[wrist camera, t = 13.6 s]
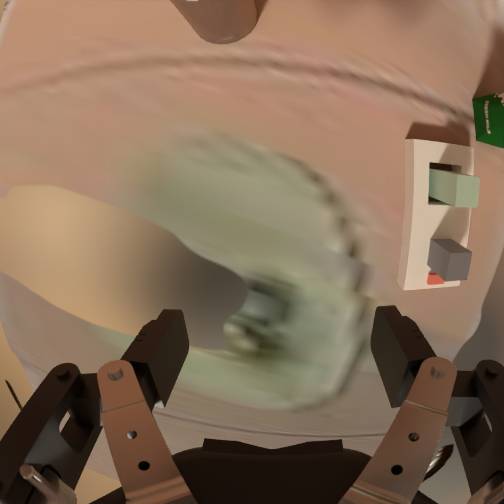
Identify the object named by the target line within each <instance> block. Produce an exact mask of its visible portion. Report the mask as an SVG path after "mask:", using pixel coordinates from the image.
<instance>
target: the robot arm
mask: <svg viewBox="0 0 504 504" xmlns="http://www.w3.org/2000/svg"><path fill="white" fill-rule="evenodd" d="M170 1H171V2H172V3H173V4H174V5H175V7H176V8H177V9H178V10H179V11H180V13H181V14H182V15H183V16H184V18H185V19H186V20H187V21H188V23H189V24H190V25H191V26H192V28H193V29H194V30H195V32H196V33H197V34H198V35H199V36H200V37H201V38H202V39H204V40H206V41H208V42H211V43H215V44H227V43H232V42H235V41H238V40H240V39H242V38H244V37H245V36H247V35H248V34H249V33H250V32H251V31H252V29H253V28H254V26H255V24H256V22H257V11H256V6H255V0H170ZM188 351H189V339H188V334H187V329H186V325H185V320H184V315H183V312H182V310H174V309H164V310H163V311H162V312H161V313H160V315H159V316H158V318H157V320H152V321H150V322H149V323H147V324H146V325H144V326H143V328H142V329H141V331H140V332H139V334H138V335H137V336H136V338H135V339H134V341H133V342H132V343H131V345H130V346H129V348H128V349H127V350H126V352H125V353H124V355H123V356H122V358H121V359H120V360H114V361H110V362H108V363H106V364H104V365H103V366H102V367H101V368H100V369H99V370H98V372H97V373H90V374H81V373H80V371H79V369H78V367H77V366H76V365H75V364H72V363H63V364H60V365H58V366H56V367H54V368H53V369H52V370H51V371H50V372H49V374H48V375H47V376H46V378H45V379H44V380H43V382H42V383H41V384H40V385H39V387H38V388H37V389H36V391H35V392H34V393H33V395H32V396H31V398H30V399H29V400H28V402H27V403H26V405H25V406H24V407H23V409H22V410H21V411H20V413H19V415H18V416H17V417H16V419H15V420H14V421H13V423H12V425H11V426H10V427H9V429H8V430H7V432H6V433H5V435H4V436H3V438H2V440H1V441H0V504H77V498H76V495H75V493H74V490H75V487H76V485H77V483H78V480H79V478H80V476H81V473H82V471H83V469H84V467H85V465H86V462H87V460H88V458H89V456H90V454H91V451H92V449H93V447H94V445H95V443H96V441H97V439H98V436H99V434H100V432H101V430H102V428H103V426H104V430H105V434H106V438H107V441H108V445H109V448H110V452H111V455H112V459H113V462H114V465H115V468H116V471H117V474H118V477H119V480H120V482H121V485H122V486H121V487H120V488H118V489H116V490H114V491H112V492H111V493H109V494H107V495H105V496H103V497H101V498H99V499H97V500H95V501H93V502H91V503H89V504H438V503H436V502H435V501H433V500H432V499H430V498H429V497H427V496H426V495H424V494H423V493H421V492H420V491H419V490H418V488H419V486H420V484H421V482H422V480H423V478H424V476H425V474H426V472H427V470H428V467H429V465H430V463H431V460H432V458H433V456H434V453H435V451H436V448H437V446H438V443H439V440H440V438H441V435H442V432H443V429H444V427H445V426H450V427H451V430H452V433H453V436H454V438H455V441H456V444H457V447H458V450H459V453H460V457H461V460H462V463H463V466H464V470H465V473H466V477H467V480H468V484H469V488H470V492H471V497H470V499H469V501H468V503H467V504H504V367H503V366H502V365H501V364H500V363H498V362H496V361H494V360H482V361H480V362H479V363H478V364H477V367H476V369H475V371H458V370H457V369H456V367H455V366H454V364H453V363H452V362H450V361H449V360H447V359H445V358H441V357H437V356H436V354H435V353H434V351H433V349H432V348H431V346H430V345H429V343H428V341H427V340H426V338H425V337H424V335H423V334H422V332H421V331H420V329H419V327H418V326H417V324H416V323H415V322H414V321H413V320H411V319H410V318H409V317H407V316H402V315H401V314H400V312H399V311H398V309H397V307H396V306H395V305H391V306H378V307H377V308H376V311H375V317H374V323H373V329H372V334H371V351H372V354H373V356H374V359H375V362H376V365H377V367H378V370H379V373H380V376H381V378H382V381H383V384H384V387H385V390H386V393H387V396H388V398H389V401H390V404H391V407H392V408H395V407H401V408H400V410H399V412H398V413H397V415H396V417H395V419H394V421H393V423H392V425H391V426H390V428H389V430H388V432H387V433H386V435H385V437H384V438H383V440H382V442H381V444H380V445H379V447H378V448H377V450H376V452H375V453H374V455H373V456H372V457H371V456H369V455H367V454H365V453H362V452H359V451H356V450H351V449H345V448H343V445H342V439H339V440H328V441H312V442H305V443H301V444H297V445H292V446H288V447H283V448H278V449H267V448H262V447H258V446H254V445H250V444H246V443H242V442H239V441H228V440H216V439H207V438H205V439H204V443H203V447H198V448H193V449H188V450H185V451H182V452H179V453H176V454H174V455H172V454H171V452H170V450H169V448H168V446H167V444H166V442H165V440H164V438H163V436H162V434H161V432H160V430H159V428H158V425H157V423H156V421H155V419H154V417H153V415H152V410H153V408H154V407H160V408H165V406H166V403H167V401H168V399H169V396H170V394H171V392H172V389H173V387H174V385H175V382H176V380H177V378H178V375H179V373H180V371H181V368H182V366H183V364H184V361H185V359H186V357H187V354H188ZM67 411H68V413H69V414H70V417H69V419H68V421H67V422H66V424H65V426H64V428H63V429H62V431H61V433H60V431H59V426H60V423H61V421H62V419H63V417H64V416H65V414H66V412H67ZM485 414H487V416H488V418H489V421H490V423H491V426H492V433H491V431H490V428H489V426H488V424H487V421H486V419H485V417H484V416H485Z"/></svg>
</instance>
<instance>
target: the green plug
mask: <svg viewBox="0 0 504 504" xmlns="http://www.w3.org/2000/svg"><path fill="white" fill-rule="evenodd" d="M479 183H480V177H476V176H472V175H467V174H463V173H458V172H453V171H448V170H441V169H431V168H429V194H428V196H430V197H432V198H435V199H438V200H440V201H443V202H445V203H448V204H450V205H452V206H455V207H468V208H478V198H479Z"/></svg>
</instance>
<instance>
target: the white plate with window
mask: <svg viewBox="0 0 504 504" xmlns="http://www.w3.org/2000/svg"><path fill="white" fill-rule="evenodd" d="M405 161H406V171H405V206H404V222H403V235H402V245H401V255H400V263H399V271H398V278H397V283H398V284H399V285H400V286H401V288H402V289H403V290H415V289H427V288H439V287H450V286H459V284H460V280H467V276H468V272H469V267H470V262H471V256H472V252H471V251H469V250H468V249H466V247H467V240H468V233H469V225H470V216H471V208H468V207H455V206H452V205H450V204H448V203H445V202H434V201H428V194H429V162H433V163H443V164H451V171H453V172H458V173H463V174H467V175H472V176H473V166H474V149H473V147H468V146H462V145H456V144H449V143H442V142H435V141H427V140H419V139H405Z"/></svg>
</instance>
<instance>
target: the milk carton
mask: <svg viewBox="0 0 504 504" xmlns="http://www.w3.org/2000/svg"><path fill="white" fill-rule="evenodd" d="M472 101H473V109H474V118H475V129H476V141H480V142H484V143H487V144H490V145H494V146H497V147H500V148H504V92H503V93H497V94H491V95H487V96H483V97H480V98H476V99H472Z"/></svg>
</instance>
